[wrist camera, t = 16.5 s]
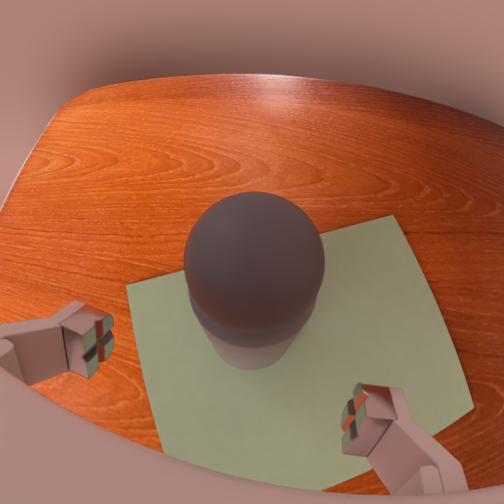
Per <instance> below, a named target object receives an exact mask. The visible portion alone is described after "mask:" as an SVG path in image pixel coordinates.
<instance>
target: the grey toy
mask: <svg viewBox="0 0 504 504" xmlns="http://www.w3.org/2000/svg"><path fill="white" fill-rule="evenodd" d="M324 272H325V252H324V248H323V244H322V240H321V237H320V235H319V232H318V231H317V229H316V227H315V225H314V224H313V222H312V221H311V220H310V218H309V217H308V216H307V215H306V214H305V212H304V211H302V210H301V209H300V208H299V207H298V206H296V205H295V204H293V203H292V202H290V201H288V200H286V199H284V198H283V197H280V196H277V195H274V194H270V193H265V192H244V193H238V194H235V195H232V196H229V197H227V198H224V199H222V200H221V201H219V202H217V203H215V204H214V205H213V206H211V207H210V208H209V209H208V210H207V211H205V212H204V213H203V215H202V216H201V217H200V218H199V219H198V221H197V222H196V223H195V225H194V227H193V228H192V230H191V232H190V235H189V237H188V240H187V243H186V247H185V252H184V273H185V278H186V282H187V285H188V294H189V300H190V304H191V307H192V310H193V312H194V314H195V316H196V318H197V319H198V321H199V323H200V325H201V326H202V328H203V330H204V332H205V333H206V335H207V337H208V339H209V340H210V342H211V344H212V346H213V347H214V349H215V351H216V352H217V354H218V355H219V356H220V357H221V358H222V360H224V361H225V362H226V363H228V364H229V365H231V366H233V367H235V368H238V369H241V370H251V371H252V370H260V369H263V368H266V367H268V366H270V365H272V364H274V363H275V362H276V361H278V360H279V359H280V358H281V356H282V355H283V354H284V353H285V351H286V350H287V349H288V347H289V346H290V345H291V343H292V342H293V341H294V339H295V338H296V337H297V335H298V334H299V332H300V331H301V330H302V328H303V327H304V325H305V324H306V323H307V321H308V320H309V318H310V316H311V315H312V313H313V310H314V308H315V305H316V301H317V295H318V292H319V290H320V287H321V285H322V282H323V277H324Z"/></svg>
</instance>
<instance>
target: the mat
mask: <svg viewBox="0 0 504 504" xmlns="http://www.w3.org/2000/svg"><path fill="white" fill-rule="evenodd" d="M319 235H320V237H321V240H322V244H323V248H324V252H325V272H324V277H323V282H322V285H321V287H320V290H319V292H318V295H317V301H316V305H315V308H314V310H313V313H312V315H311V316H310V318H309V320H308V321H307V323H306V324H305V325H304V327H303V328H302V330H301V331H300V332H299V334H298V335H297V337H296V338H295V339H294V341H293V342H292V343H291V345H290V346H289V347H288V349H287V350H286V351H285V353H284V354H283V355H282V356H281V358H280V359H279V360H278V361H276V362H275V363H274V364H272V365H270V366H268V367H266V368H263V369H260V370H252V371H251V370H241V369H238V368H235V367H233V366H231V365H229V364H228V363H226V362H225V361H224V360H222V358H221V357H220V356H219V355H218V354H217V352H216V351H215V349H214V347H213V346H212V344H211V342H210V340H209V339H208V337H207V335H206V333H205V332H204V330H203V328H202V326H201V325H200V323H199V321H198V319H197V318H196V316H195V314H194V312H193V310H192V307H191V304H190V300H189V294H188V285H187V282H186V278H185V273H184V270H182V271H178V272H175V273H171V274H167V275H163V276H160V277H156V278H152V279H148V280H144V281H141V282H137V283H133V284H129V285H126V287H127V294H128V300H129V306H130V312H131V318H132V324H133V329H134V335H135V340H136V345H137V350H138V355H139V360H140V364H141V369H142V373H143V377H144V382H145V386H146V390H147V394H148V398H149V402H150V406H151V410H152V413H153V417H154V421H155V424H156V428H157V431H158V434H159V438H160V441H161V444H162V448H163V451H164V454H166V455H169V456H172V457H174V458H177V459H180V460H183V461H186V462H189V463H192V464H195V465H199V466H202V467H205V468H209V469H212V470H216V471H219V472H223V473H227V474H230V475H234V476H238V477H242V478H247V479H251V480H256V481H260V482H265V483H270V484H276V485H281V486H287V487H293V488H299V489H306V490H314V491H321V490H324V489H326V488H329V487H332V486H334V485H337V484H339V483H342V482H344V481H346V480H349V479H351V478H353V477H356V476H358V475H360V474H362V473H364V472H367V471H369V470H371V469H373V467H372V466H371V464H370V463H369V461H368V460H367V457H361V456H353V455H346V454H342V439H341V438H342V437H343V435H344V433H345V432H344V431H343V430H342V429H341V417H342V413H343V410H344V407H345V405H346V403H347V401H349V400H351V399H352V398H353V390H354V388H355V386H356V385H357V384H358V382H359V383H365V384H372V385H378V386H385V387H387V386H389V387H398V388H402V389H403V391H404V395H405V398H406V401H407V405H408V408H409V411H410V415H411V418H412V422H417V423H418V424H419V425H420V426H421V427H422V428H423V429H424V430H425V431H426V432H427V433H429V434H430V435H431V436H433V435H435V434H436V433H438V432H440V431H441V430H443V429H444V428H446V427H447V426H449V425H450V424H452V423H453V422H455V421H456V420H458V419H459V418H460V417H462V416H463V415H465V414H466V413H468V412H469V411H470V410H472V409H473V408H474V405H473V402H472V398H471V395H470V392H469V388H468V385H467V382H466V379H465V376H464V373H463V370H462V367H461V364H460V361H459V358H458V356H457V353H456V350H455V347H454V345H453V342H452V339H451V337H450V334H449V332H448V329H447V327H446V324H445V322H444V319H443V317H442V314H441V312H440V309H439V307H438V305H437V302H436V300H435V298H434V296H433V293H432V291H431V289H430V287H429V284H428V282H427V280H426V278H425V276H424V274H423V272H422V270H421V267H420V265H419V263H418V261H417V259H416V257H415V255H414V253H413V251H412V249H411V247H410V245H409V243H408V241H407V239H406V238H405V236H404V234H403V232H402V230H401V228H400V226H399V224H398V223H397V221H396V219H395V217H394V215H390V216H386V217H383V218H379V219H375V220H371V221H368V222H364V223H360V224H356V225H352V226H349V227H345V228H341V229H337V230H334V231H330V232H326V233H322V234H319Z"/></svg>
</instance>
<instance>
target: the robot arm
mask: <svg viewBox="0 0 504 504" xmlns="http://www.w3.org/2000/svg"><path fill="white" fill-rule="evenodd" d="M113 326H114V322H113V316H112V315H111V314H109V313H106V312H104V311H102V310H99V309H97V308H94V307H92V306H90V305H87V304H85V303H82V302H80V301H72V302H71V303H70V304H68V305H67V306H65V307H64V308H62V309H61V310H60V311H58V312H57V313H55V314H54V315H52V316H51V317H50V318H48V319H46V318H39V319H32V320H26V321H20V322H13V323H7V324H0V504H504V484H502V485H497V486H492V487H487V488H481V489H474V490H469V489H468V485H467V482H466V478H465V475H464V472H463V469H462V465H461V463H460V462H459V461H458V460H457V459H455V458H454V457H453V456H452V455H451V454H450V453H449V452H448V451H447V450H446V449H445V448H444V447H443V446H441V445H440V444H439V443H438V442H437V441H436V440H435V439H434V438H433V437H432V436H431V435H430V434H429V433H427V432H426V431H425V430H424V429H423V428H422V427H421V426H420V425H419V424H418V423H417V422H412V418H411V415H410V411H409V408H408V405H407V401H406V398H405V395H404V391H403V389H402V388H398V387H389V386H387V387H385V386H378V385H372V384H365V383H359V382H358V384H357V385H356V386H355V388H354V390H353V398H352V399H351V400H349V401H347V403H346V405H345V407H344V410H343V413H342V417H341V429H342V430H343V431H344V432H345V433H344V435H343V437H342V438H341V439H342V454H346V455H353V456H361V457H367V460H368V461H369V463H370V464H371V466H372V467H373V469H374V470H375V472H376V473H377V475H378V476H379V478H380V479H381V481H382V482H383V484H384V485H385V487H386V488H387V490H388V491H389V493H390V494H391V495H358V494H343V493H332V492H323V491H314V490H306V489H299V488H293V487H287V486H281V485H276V484H270V483H265V482H260V481H256V480H251V479H247V478H242V477H238V476H234V475H230V474H227V473H223V472H219V471H216V470H212V469H209V468H205V467H202V466H199V465H195V464H192V463H189V462H186V461H183V460H180V459H177V458H174V457H172V456H169V455H166V454H163V453H161V452H158V451H155V450H153V449H150V448H148V447H145V446H143V445H140V444H138V443H135V442H133V441H131V440H128V439H126V438H124V437H122V436H119V435H117V434H115V433H113V432H111V431H109V430H106V429H104V428H102V427H100V426H98V425H96V424H94V423H92V422H90V421H88V420H86V419H84V418H83V417H81V416H79V415H77V414H75V413H73V412H71V411H70V410H68V409H66V408H64V407H62V406H61V405H59V404H57V403H56V402H54V401H52V400H51V399H49V398H47V397H46V396H44V395H42V394H41V393H39V392H38V391H36V390H34V389H33V388H31V387H30V385H33V384H35V383H38V382H41V381H43V380H46V379H49V378H52V377H54V376H57V375H60V374H62V373H65V372H68V371H69V370H70V371H72V372H74V373H76V374H78V375H80V376H83V377H85V378H87V379H89V378H90V377H91V376H92V375H93V374H94V373H95V372H96V371H97V370H98V369H99V364H98V363H100V362H104V361H106V360H107V359H108V358H109V357H110V355H111V353H112V350H113V347H114V335H113V334H112V332H111V330H110V329H111V328H112V327H113Z"/></svg>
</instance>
